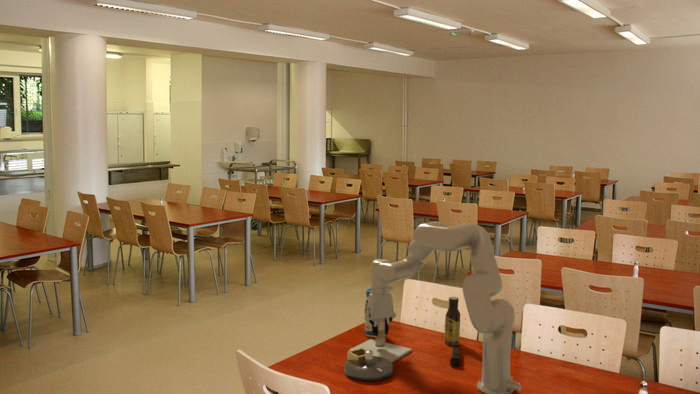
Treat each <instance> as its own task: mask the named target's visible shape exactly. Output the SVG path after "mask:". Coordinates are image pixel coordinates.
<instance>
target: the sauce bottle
mask: <svg viewBox="0 0 700 394" xmlns="http://www.w3.org/2000/svg"><path fill="white" fill-rule="evenodd" d="M459 300H460V299H459V297H457V296H449V297H448V308H447V310H446V313H445V319H444V335H443V336H444V344H446V345H448V346H453V343H454V341H458V342H459V343H460V335H461V334H460V331H461V312H460V310H459V302H460V301H459Z"/></svg>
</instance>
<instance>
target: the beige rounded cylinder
mask: <svg viewBox="0 0 700 394" xmlns="http://www.w3.org/2000/svg"><path fill="white" fill-rule="evenodd" d="M377 327H378V336H375V337H374V338H375V339H374V340H375V345H376V347H385V342H386V334H385V318H382V319H378V320H377Z"/></svg>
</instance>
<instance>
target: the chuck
mask: <svg viewBox="0 0 700 394" xmlns="http://www.w3.org/2000/svg"><path fill="white" fill-rule="evenodd" d="M346 355H347V356H346V357H347V358H346V361H345V362H344V374H345V375H346V376H347V377H349V378H351V379H354V380H358V381H363V382H373V381H374V382H375V381H381V380H382V381H383V380H385V379H387V378H389V377H392V375H393V374H394V364H393V362H391V361H390V360H388V359H385V358H382V357H378V356H373V351H371V350H365V349H363V348H360V349H356V350H352V351H349V350H348V351H347V353H346Z"/></svg>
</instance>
